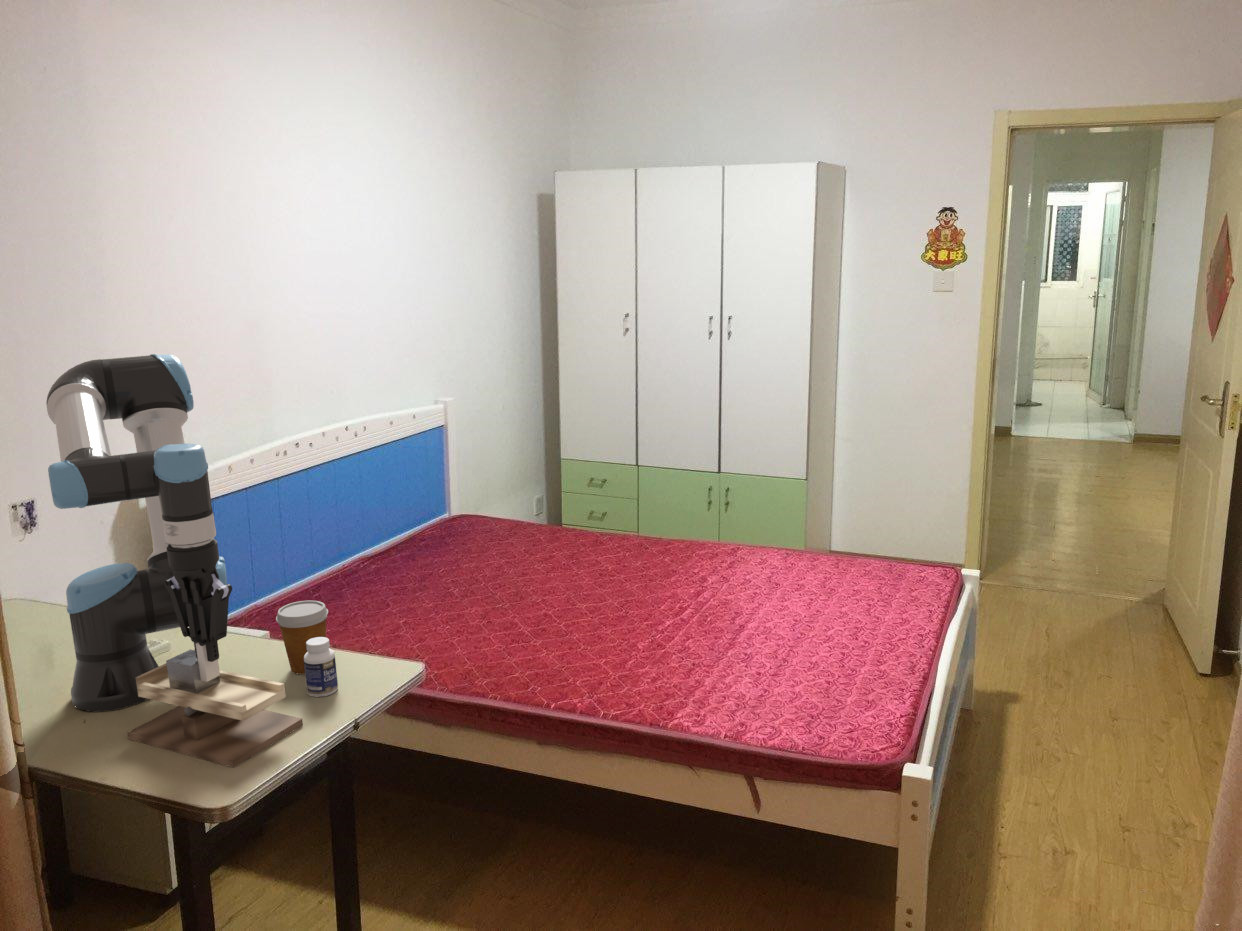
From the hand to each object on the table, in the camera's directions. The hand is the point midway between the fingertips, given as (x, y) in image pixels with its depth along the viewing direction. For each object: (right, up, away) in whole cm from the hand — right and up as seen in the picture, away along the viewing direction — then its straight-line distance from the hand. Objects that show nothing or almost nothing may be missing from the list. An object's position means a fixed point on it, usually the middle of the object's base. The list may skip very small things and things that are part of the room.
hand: (210, 677), depth 167 cm
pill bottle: (+14, -6, +16) cm, 22 cm away
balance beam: (0, -4, +1) cm, 4 cm away
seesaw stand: (0, -10, +2) cm, 10 cm away
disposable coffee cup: (+8, -4, +27) cm, 28 cm away
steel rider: (-3, -2, +2) cm, 4 cm away
